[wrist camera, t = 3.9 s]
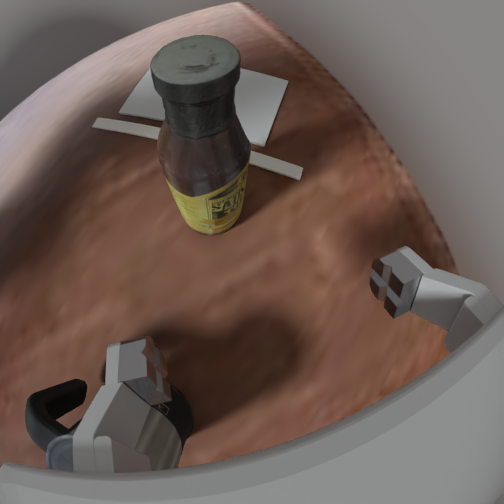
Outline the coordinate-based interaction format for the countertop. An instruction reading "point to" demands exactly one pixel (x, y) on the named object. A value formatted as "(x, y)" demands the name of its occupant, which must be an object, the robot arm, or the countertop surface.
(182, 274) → the countertop surface
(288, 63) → the countertop surface
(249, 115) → the mat
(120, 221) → the countertop surface
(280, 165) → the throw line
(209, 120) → the sauce bottle
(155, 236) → the countertop surface
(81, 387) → the milk frother
